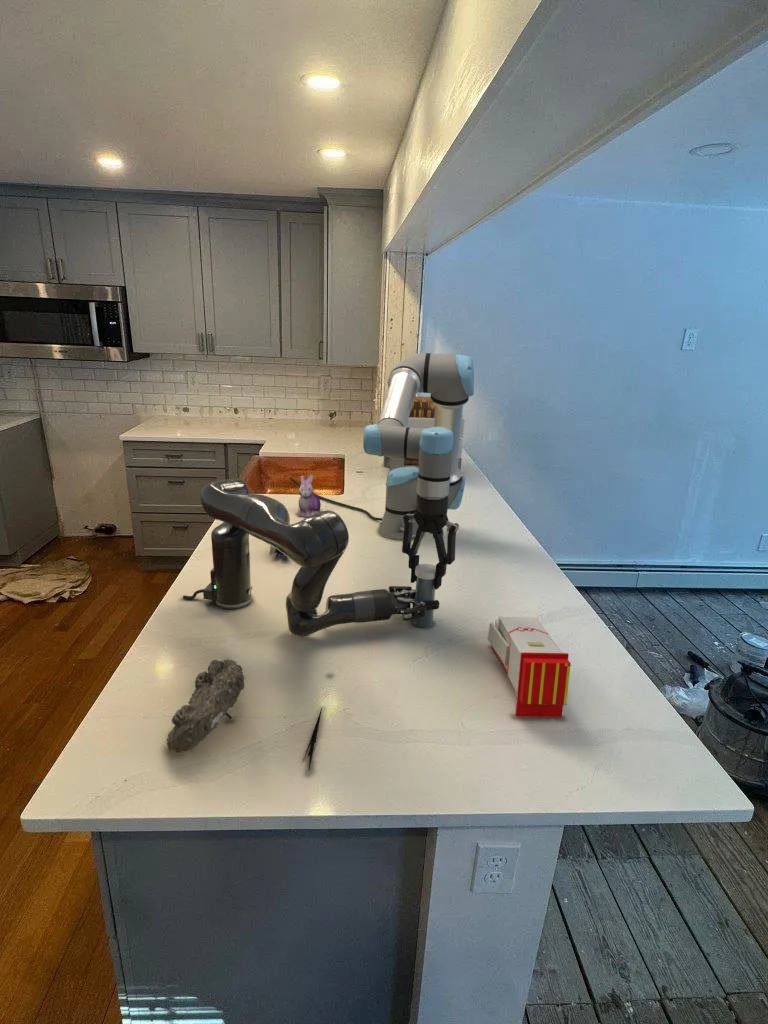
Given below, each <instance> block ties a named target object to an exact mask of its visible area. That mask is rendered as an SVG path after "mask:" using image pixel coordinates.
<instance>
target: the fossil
mask: <svg viewBox="0 0 768 1024" xmlns="http://www.w3.org/2000/svg"><path fill="white" fill-rule="evenodd" d="M243 670H244V669H243V667H242V665H240V664H237V662H236V661H235V660H234V659H232V658H231V659H227V658H226V659H224V660H223V661H222V660H217V659H212V660H211V661H210V663H209V665H208V666H207V671H201V672H199V673H198V674H197V675H196V676H195V680H194V684H195V685H194V687H195V689H194V690H193V693H192V694H191V697H190V698H189V700H188V704H184V705H182V706H181V707H180V709H177V710H176V711H175V713H174V715H173V716H172V718H171V723H172V724H173V727H172V730H171V731H170V732H168V734H167V738H166V741H167V742H166V745H167V749H168V750H169V751H173V752H174V753H176V754H178V753H182V752H188V751H189V752H192V751H193V750H195V748H196V747H197V746H199V744H200V743H201V742H203V741H204V740H205V739H206V738H207V737H208V736H209V735H210V734H211V733H212V732H214V730H215V729H217V727H218V726H219V724H220V722H221V721H222V720H223V719H224V718H225V716H226V717H227V719H229V720H233V717H232V715H230V714H229V710H230V709H231V708H234V706H235V704H236V703H237V702H238V699H239V697H240V695H241V693H242V691H243V690H245V689H244V688H245V675H244V671H243Z"/></svg>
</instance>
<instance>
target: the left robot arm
mask: <svg viewBox="0 0 768 1024" xmlns="http://www.w3.org/2000/svg"><path fill="white" fill-rule="evenodd" d="M199 496H200V499H199V500H200V504H201V507H202V508H203V510H204V512H205V513H206V515H207V516H208V517H210V518H211V519H213V520H216V521H220V522H222V523H220V524H219V525H217V526H215V528H213V530H212V531H211V534H210V539H211V540H210V541H211V552H212V553H211V554H212V555H211V556H212V568H211V569H210V572H209V573H210V583H208V585H207V586H206V587H205V588H202V589H197V590H196V591H194V593H193V594H192V595H185V594H184V595H182V598H183V599H185V600H194V599H195V598H196V597H197V595H198V594H203V595H202V596H203V600H206V601H207V600H208V601H211V603H212V604H213V605H216V606H217V607H219V608H223V609H226V610H227V609H239V608H243V607H246V606H247V605H249V604H250V603H251V602H252V600H253V599H252V598H253V597H252V596H253V595H252V591H253V585H252V584H251V583H252V581H251V579H252V577H251V560H250V559H251V556H250V536H252V537H254V538H256V539H258V540H260V541H263V542H265V543H266V544H267V545H270V547H271V546H273V547H275V548H276V549H278V550H279V551H280V552H282V553H283V554H284V556H285V555H286V556H287V559H289V560H290V561H292V562H293V563H295V564H296V565H297V566H299V567H300V568H299V569H298V571H297V572H296V573H295V576H294V577H293V580H292V584H291V590H290V591H289V592H288V594H287V595H286V599H285V610H286V611H285V612H286V617H287V625H288V631H289V632H290V633H291V634H292V635H294V636H296V637H308V636H310V635H314V634H316V633H318V632H319V631H320V632H321V631H322V630H325V629H328V628H331V627H333V626H338V625H347V624H354V623H358V624H359V623H361V624H364V623H371V622H372V623H373V622H380V621H388V620H390V619H391V617H392V616H393V615H395V616H396V615H398V616H402V620H403V621H404V622H408V621H413V619H416V618H420V617H424V616H425V611H427V610H434V611H436V610H439V609H440V601H439V600H438V599H435V600H432V601H425V602H422V601H416V600H415V589H416V588H414V589H413V587H412V586H410V585H407V586H403V585H401V586H400V585H389V586H388V589H386V588H380V589H370V590H360V591H355V592H351V593H350V592H349V593H341V594H334V595H330V596H328V597H326V601H325V611H324V612H323V613H322V614H318V610H317V608H318V607H319V606H320V604H321V602H322V599H323V595H324V591H325V588H326V585H327V582H328V581H329V578H330V577H331V575H332V573H333V571H334V570H335V568H336V567H337V564H338V563H339V561H340V559H341V558H342V556H343V555H344V553H345V552H346V550H347V549H348V545H349V540H350V537H349V534H350V533H349V530H348V527H347V525H346V523H345V522H344V520H343V518H342V517H341V516H340V515H339V514H338V513H337V512H335V511H333V510H322V511H320V512H319V513H317V514H314V515H312V516H309V517H305V518H304V519H302V520H300V521H298V522H295V523H292V524H291V519H290V513H289V511H288V509H287V507H286V506H285V505H284V504H283V503H282V502H281V501H279V500H277V499H274V498H272V497H270V496H268V495H264V494H258V493H250V488H249V487H248V485H247V482H246V481H245V480H244V479H243V478H240V477H237V478H228V479H221V480H216V481H211V482H208V483H207V484H205V485H204V486H203V487H202V489H201V492H200V495H199ZM416 605H420V606H418V607H415V606H416ZM418 612H420V613H418ZM417 613H418V614H417Z"/></svg>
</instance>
